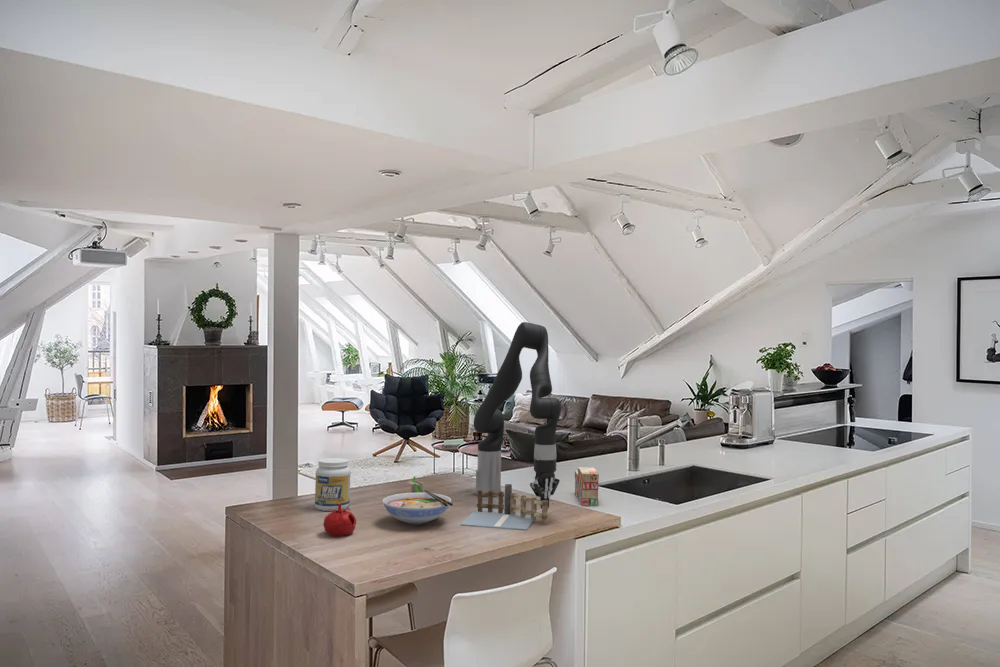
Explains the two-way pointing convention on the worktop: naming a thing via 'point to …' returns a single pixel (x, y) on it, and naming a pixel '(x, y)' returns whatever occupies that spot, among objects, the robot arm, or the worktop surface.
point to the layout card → (498, 520)
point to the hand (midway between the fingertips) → (544, 508)
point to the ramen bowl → (417, 506)
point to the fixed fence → (500, 501)
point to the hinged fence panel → (533, 511)
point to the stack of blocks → (587, 486)
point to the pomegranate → (339, 522)
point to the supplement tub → (332, 484)
